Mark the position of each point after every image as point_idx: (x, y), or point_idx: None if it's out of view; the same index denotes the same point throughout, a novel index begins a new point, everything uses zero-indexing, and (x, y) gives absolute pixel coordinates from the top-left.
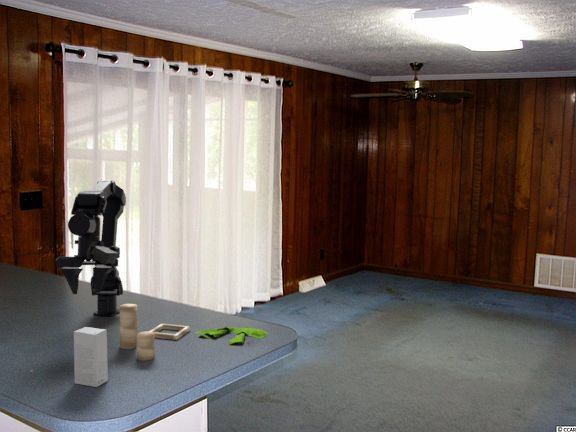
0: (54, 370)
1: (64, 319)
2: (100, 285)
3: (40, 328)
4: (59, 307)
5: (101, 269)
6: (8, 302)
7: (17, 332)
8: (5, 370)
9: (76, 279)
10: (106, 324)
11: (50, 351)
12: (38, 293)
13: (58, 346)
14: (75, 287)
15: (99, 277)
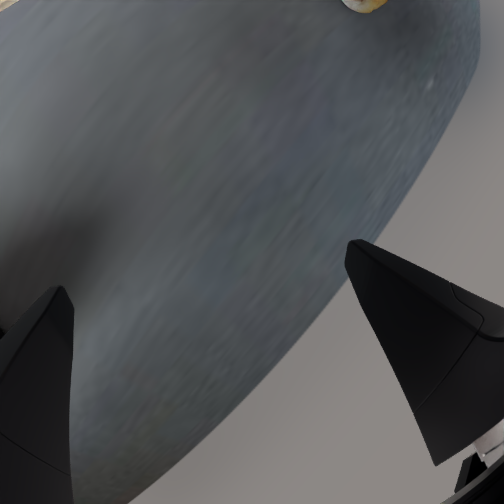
0: (415, 37)
1: (114, 374)
2: (41, 328)
3: (210, 346)
4: (84, 438)
5: (4, 498)
6: (153, 477)
7: (267, 346)
8: (441, 134)
9: (466, 297)
10: (28, 248)
11: (343, 141)
12: (90, 487)
13: (303, 158)
14: (406, 262)
15: (30, 418)
